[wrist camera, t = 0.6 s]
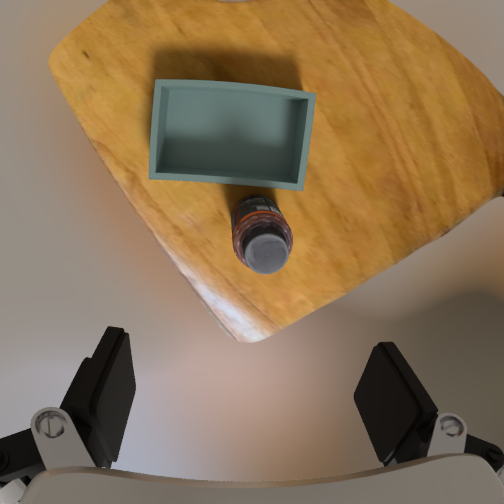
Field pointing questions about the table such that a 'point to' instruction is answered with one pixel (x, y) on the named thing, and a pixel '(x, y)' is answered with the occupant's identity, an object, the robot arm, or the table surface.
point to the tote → (230, 133)
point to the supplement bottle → (260, 234)
